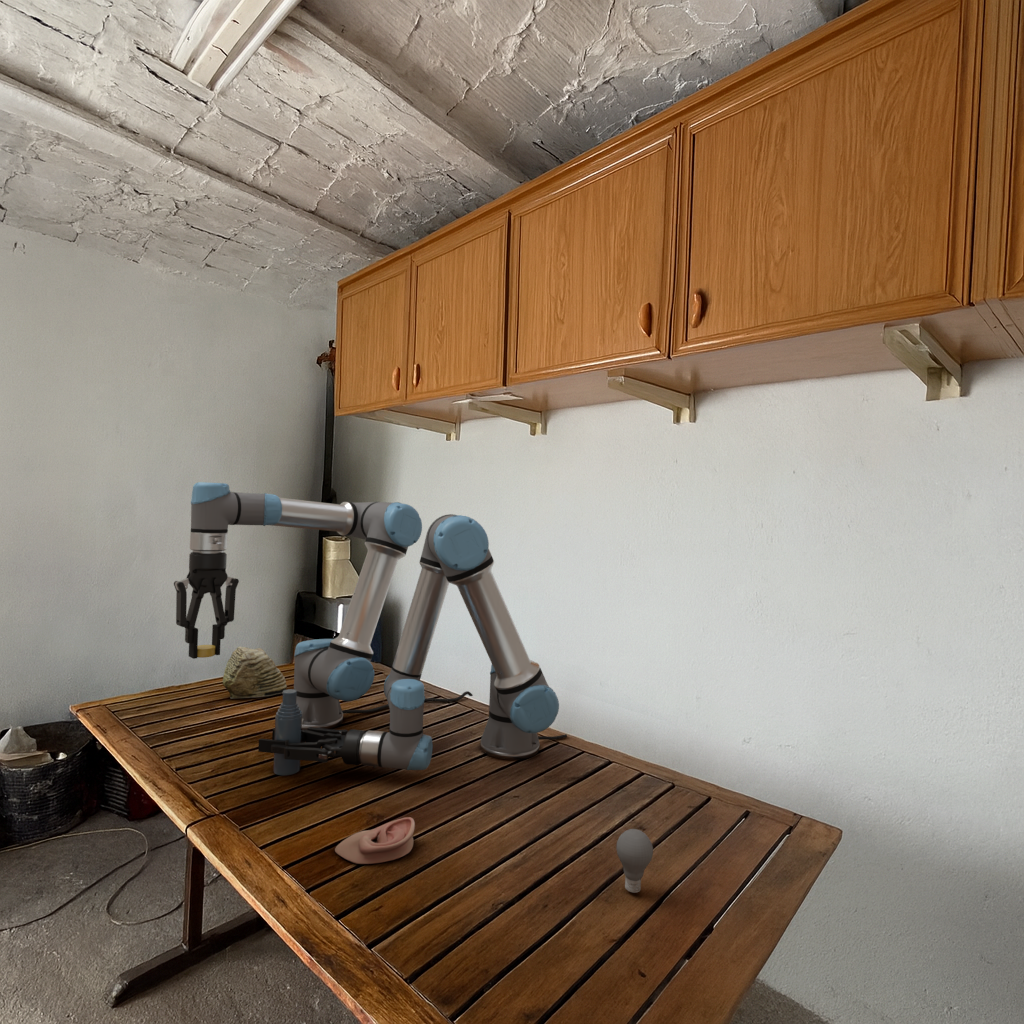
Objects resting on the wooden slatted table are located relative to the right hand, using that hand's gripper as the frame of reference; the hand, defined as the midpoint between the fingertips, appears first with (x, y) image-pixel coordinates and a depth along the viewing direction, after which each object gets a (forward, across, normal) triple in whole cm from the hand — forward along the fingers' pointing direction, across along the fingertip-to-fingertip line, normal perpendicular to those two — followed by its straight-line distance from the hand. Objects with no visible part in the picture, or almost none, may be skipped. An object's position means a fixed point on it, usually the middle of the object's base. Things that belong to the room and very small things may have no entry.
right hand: (266, 739), depth 146 cm
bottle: (-5, 0, -7) cm, 8 cm away
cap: (+12, -6, +22) cm, 26 cm away
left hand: (+13, -6, +20) cm, 24 cm away
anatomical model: (-35, -28, -7) cm, 45 cm away
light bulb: (-81, -33, -7) cm, 88 cm away
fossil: (+28, +49, -7) cm, 57 cm away
